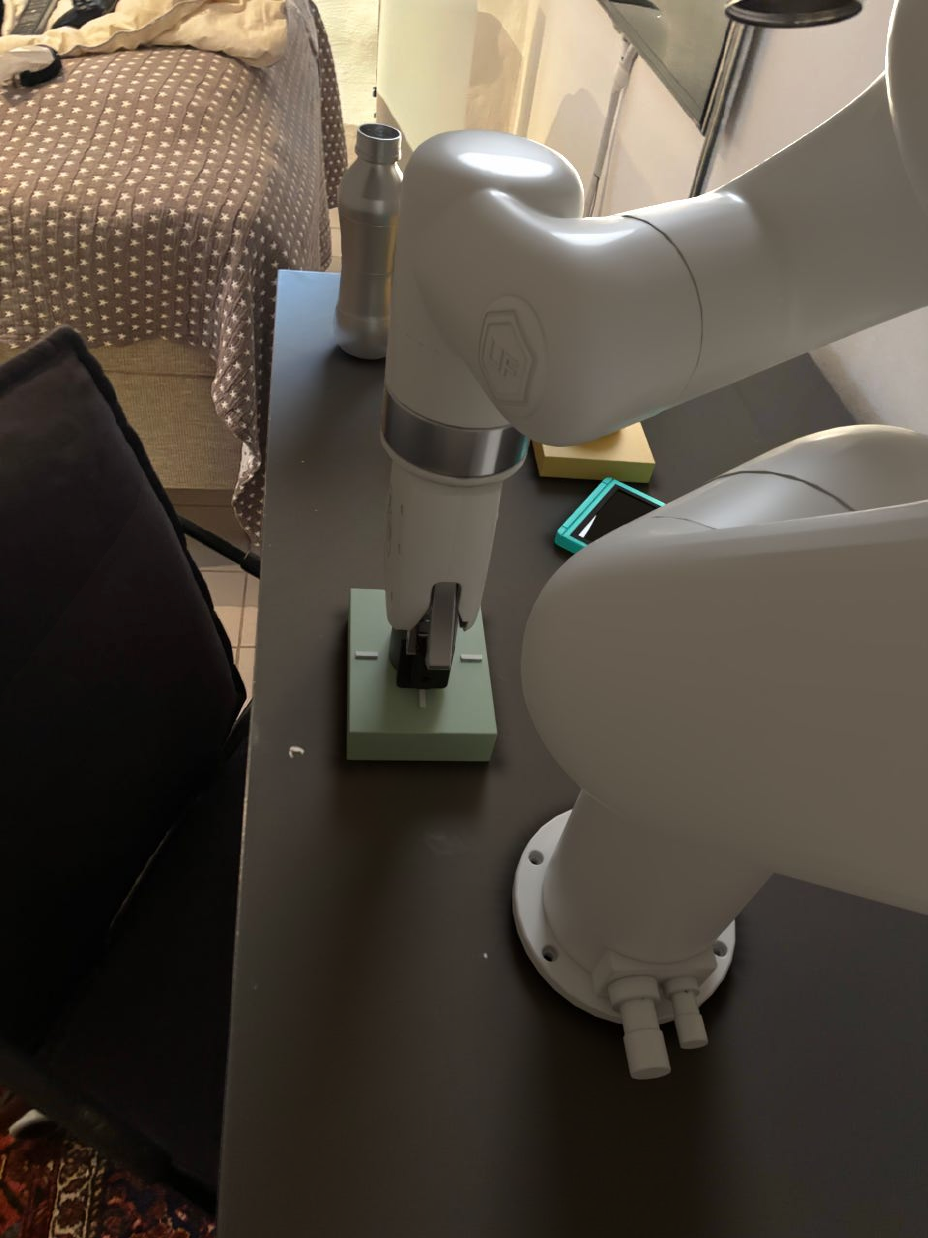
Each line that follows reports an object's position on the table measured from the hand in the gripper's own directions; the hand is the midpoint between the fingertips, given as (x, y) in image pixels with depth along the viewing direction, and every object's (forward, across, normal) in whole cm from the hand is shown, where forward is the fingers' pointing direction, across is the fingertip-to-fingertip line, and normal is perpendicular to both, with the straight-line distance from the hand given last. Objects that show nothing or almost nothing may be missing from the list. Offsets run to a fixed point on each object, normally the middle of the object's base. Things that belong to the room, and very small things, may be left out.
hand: (419, 653), depth 56 cm
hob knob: (0, 0, 0) cm, 0 cm away
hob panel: (+3, 0, 0) cm, 3 cm away
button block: (+3, -30, +17) cm, 35 cm away
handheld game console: (+4, -14, +21) cm, 25 cm away
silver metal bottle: (+4, -42, -3) cm, 42 cm away
